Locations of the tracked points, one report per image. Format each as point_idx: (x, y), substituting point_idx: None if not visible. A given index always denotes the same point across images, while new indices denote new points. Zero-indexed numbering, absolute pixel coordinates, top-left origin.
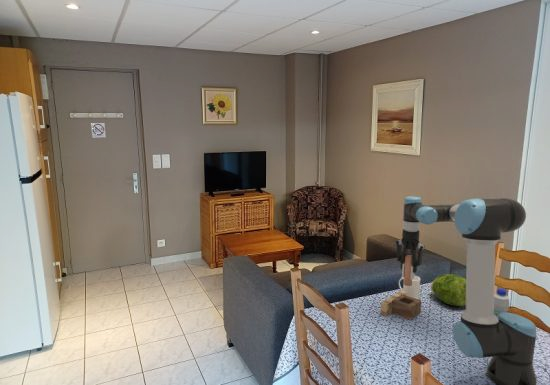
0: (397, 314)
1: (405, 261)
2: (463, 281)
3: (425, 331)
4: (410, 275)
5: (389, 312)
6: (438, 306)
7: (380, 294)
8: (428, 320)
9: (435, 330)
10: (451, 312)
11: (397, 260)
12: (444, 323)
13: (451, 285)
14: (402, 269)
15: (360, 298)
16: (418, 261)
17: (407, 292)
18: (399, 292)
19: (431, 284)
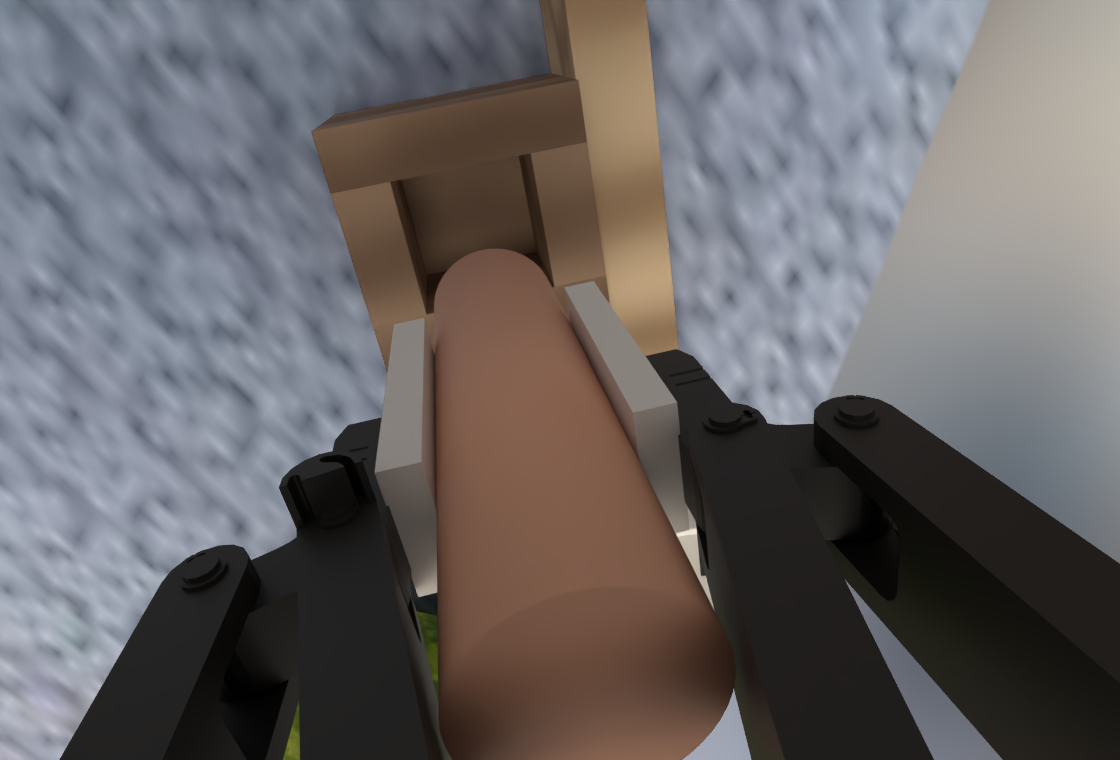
0: (484, 87)
1: (619, 472)
2: None
3: (63, 17)
4: (438, 360)
5: (547, 25)
6: None
7: (845, 323)
8: (247, 259)
9: (42, 133)
10: (270, 538)
11: (867, 399)
12: (132, 333)
13: (286, 757)
14: (626, 338)
15: (942, 87)
16: (151, 675)
17: None
18: None
19: None
